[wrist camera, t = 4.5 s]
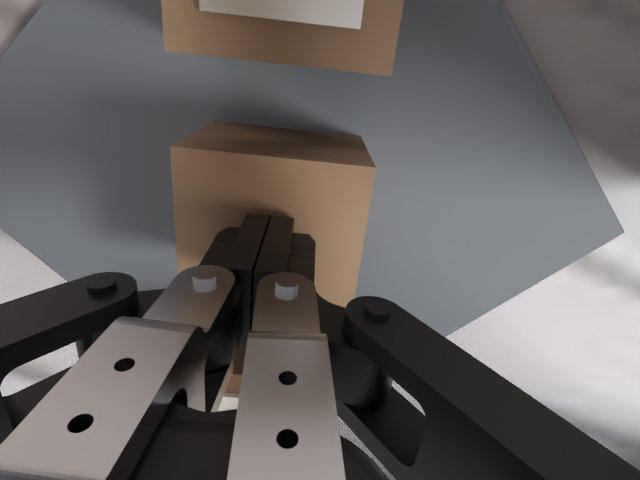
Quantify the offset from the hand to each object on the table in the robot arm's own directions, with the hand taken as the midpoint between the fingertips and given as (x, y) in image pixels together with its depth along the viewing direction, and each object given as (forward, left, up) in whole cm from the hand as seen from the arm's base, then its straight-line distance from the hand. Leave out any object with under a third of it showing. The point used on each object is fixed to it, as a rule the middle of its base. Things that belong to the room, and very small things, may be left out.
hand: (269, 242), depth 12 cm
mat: (0, 0, -6) cm, 6 cm away
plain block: (0, 0, -5) cm, 5 cm away
